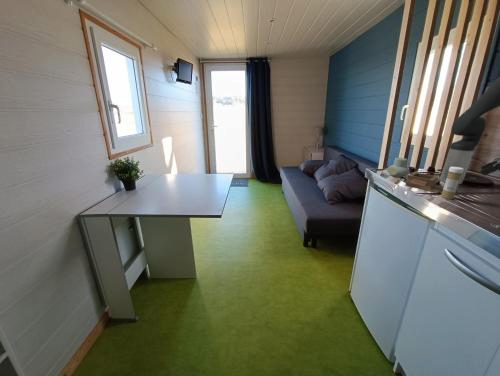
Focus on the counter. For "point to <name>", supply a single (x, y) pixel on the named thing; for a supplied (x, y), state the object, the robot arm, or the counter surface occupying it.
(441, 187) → the spice socket
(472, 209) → the counter surface
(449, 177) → the sprinkles bottle
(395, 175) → the air freshener
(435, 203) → the counter surface
